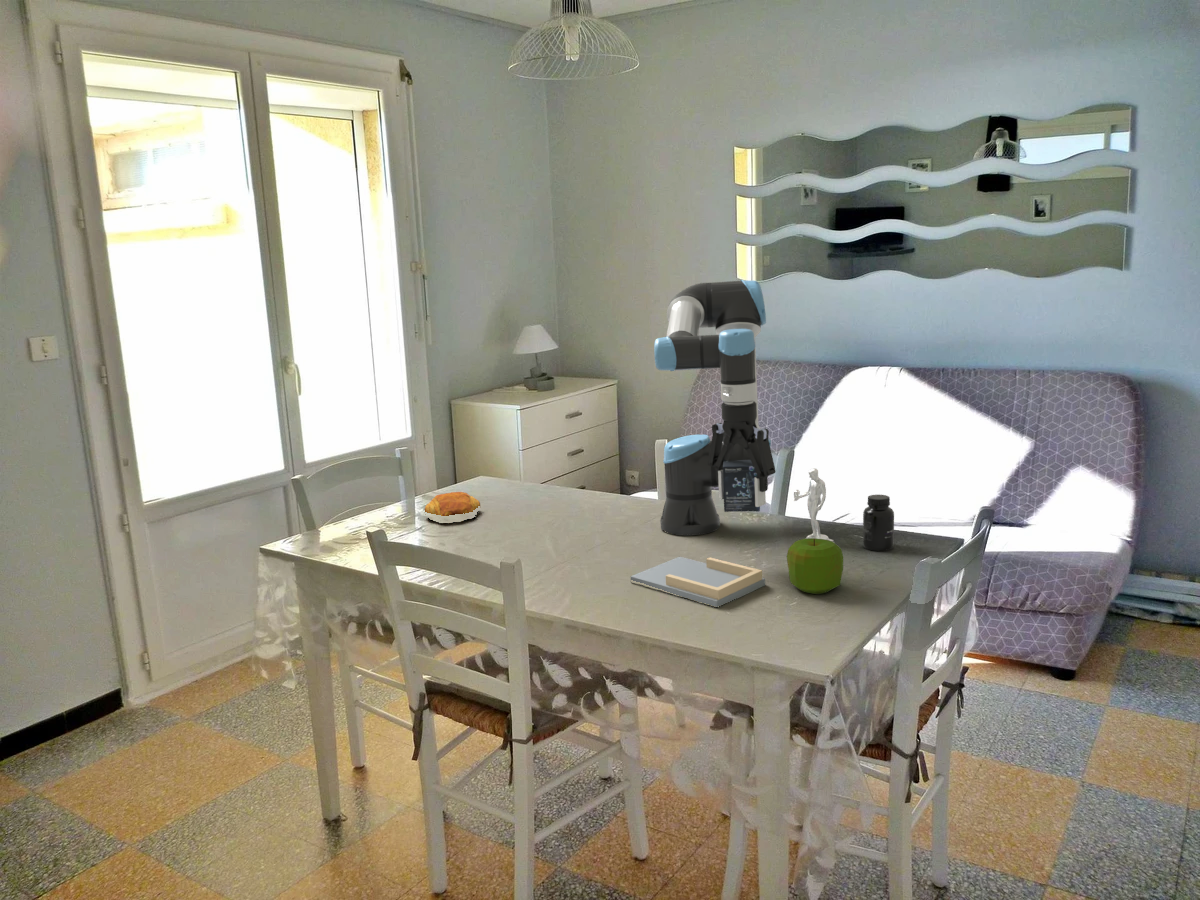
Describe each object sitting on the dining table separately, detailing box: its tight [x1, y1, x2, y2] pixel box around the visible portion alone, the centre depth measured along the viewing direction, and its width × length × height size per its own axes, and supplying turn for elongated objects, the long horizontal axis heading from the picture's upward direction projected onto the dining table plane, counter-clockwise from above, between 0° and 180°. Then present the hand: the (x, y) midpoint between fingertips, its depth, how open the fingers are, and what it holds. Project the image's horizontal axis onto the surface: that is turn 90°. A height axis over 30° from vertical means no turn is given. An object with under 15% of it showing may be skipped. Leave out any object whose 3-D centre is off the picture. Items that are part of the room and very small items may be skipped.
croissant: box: [424, 491, 481, 516], centre depth 266 cm, size 14×16×8 cm
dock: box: [630, 556, 766, 608], centre depth 203 cm, size 24×16×4 cm, turn 44°
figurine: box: [792, 468, 836, 544], centre depth 224 cm, size 8×7×18 cm
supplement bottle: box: [862, 494, 895, 552], centre depth 218 cm, size 7×7×12 cm
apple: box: [786, 538, 844, 595], centre depth 196 cm, size 11×11×11 cm
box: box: [723, 460, 761, 513], centre depth 209 cm, size 8×6×11 cm
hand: (742, 501), depth 210 cm, fingers closed on box, 9 cm apart
